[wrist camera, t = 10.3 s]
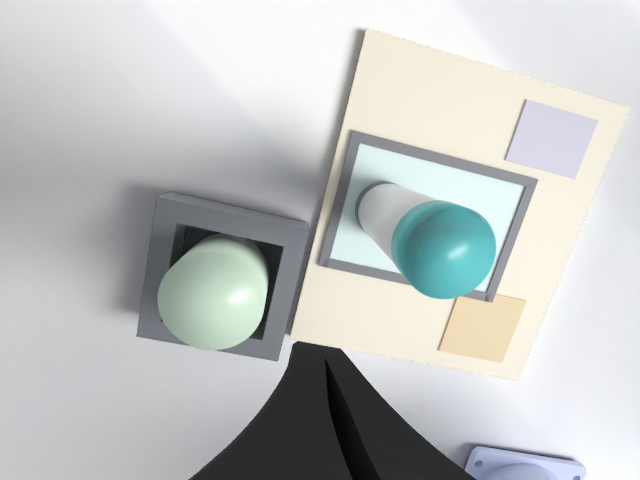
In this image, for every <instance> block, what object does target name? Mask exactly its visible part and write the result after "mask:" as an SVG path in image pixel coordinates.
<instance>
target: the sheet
mask: <svg viewBox="0 0 640 480" xmlns="http://www.w3.org/2000/svg"><path fill="white" fill-rule="evenodd" d="M629 111H630V108H629V107H626V106H623V105H619V104H616V103H613V102H609V101H606V100H603V99H600V98H596V97H593V96H590V95H586V94H583V93H580V92H576V91H573V90H570V89H567V88H563V87H560V86H557V85H553V84H550V83H547V82H544V81H540V80H537V79H534V78H530V77H527V76H524V75H520V74H517V73H514V72H511V71H507V70H504V69H501V68H497V67H494V66H491V65H487V64H484V63H481V62H478V61H474V60H471V59H468V58H464V57H461V56H458V55H455V54H451V53H448V52H445V51H441V50H438V49H435V48H431V47H428V46H425V45H422V44H418V43H415V42H412V41H408V40H405V39H402V38H398V37H395V36H392V35H389V34H385V33H382V32H379V31H375V30H372V29H369V28H367V29H366V31H365V34H364V38H363V42H362V46H361V50H360V54H359V58H358V62H357V66H356V70H355V74H354V79H353V83H352V87H351V91H350V95H349V99H348V103H347V107H346V111H345V115H344V119H343V123H342V127H341V131H340V135H339V139H338V143H337V147H336V151H335V155H334V159H333V163H332V167H331V171H330V175H329V179H328V183H327V187H326V191H325V195H324V200H323V204H322V208H321V212H320V216H319V220H318V224H317V228H316V232H315V236H314V240H313V244H312V248H311V252H310V256H309V260H308V264H307V268H306V272H305V276H304V280H303V284H302V288H301V292H300V296H299V300H298V304H297V308H296V312H295V316H294V320H293V325H292V329H291V333H290V339H294V340H299V341H304V342H310V343H315V344H321V345H326V346H331V347H337V348H342V349H348V350H353V351H358V352H364V353H369V354H375V355H380V356H385V357H391V358H396V359H402V360H407V361H412V362H418V363H423V364H429V365H434V366H439V367H445V368H450V369H455V370H461V371H466V372H472V373H477V374H482V375H488V376H493V377H499V378H504V379H509V380H515V381H518V380H519V377H520V375H521V373H522V370H523V368H524V365H525V363H526V360H527V358H528V356H529V353H530V351H531V348H532V346H533V343H534V341H535V339H536V336H537V334H538V331H539V329H540V327H541V324H542V322H543V319H544V317H545V314H546V312H547V310H548V307H549V305H550V302H551V300H552V297H553V295H554V293H555V290H556V288H557V285H558V283H559V280H560V278H561V276H562V273H563V271H564V268H565V266H566V263H567V261H568V259H569V256H570V254H571V251H572V249H573V246H574V244H575V242H576V239H577V237H578V234H579V232H580V230H581V227H582V225H583V222H584V220H585V217H586V215H587V213H588V210H589V208H590V205H591V203H592V200H593V198H594V196H595V193H596V191H597V188H598V186H599V183H600V181H601V179H602V176H603V174H604V171H605V169H606V166H607V164H608V162H609V159H610V157H611V154H612V152H613V149H614V147H615V145H616V142H617V140H618V137H619V135H620V133H621V130H622V128H623V125H624V123H625V120H626V118H627V116H628V113H629ZM382 181H385V182H391V183H394V184H397V185H399V186H401V187H404V188H407V189H410V190H413V191H416V192H419V193H421V194H424V195H427V196H430V197H433V198H436V199H438V200H443V201H448V202H452V203H455V204H458V205H460V206H463V207H466V208H469V209H472V210H474V211H476V212H478V213H479V214H481V215H482V216H483V217H484V218H485V219H486V220H487V221H488V223H489V224H490V226H491V227H492V229H493V232H494V235H495V238H496V256H495V260H494V264H493V266H492V268H491V270H490V272H489V274H488V275H487V277H486V278H485V279H484V281H483V282H482V283H481V284H480V285H479V286H477V287H476V288H475V289H474V290H472V291H471V292H469V293H467V294H465V295H463V296H460V297H457V298H453V299H435V298H431V297H428V296H426V295H424V294H422V293H420V292H419V291H417V290H416V289H415V288H414V287H413V286H412V285H411V284H410V283H409V282H408V280H407V279H406V278H405V277H404V276H403V275H402V274H401V273H400V271H399V270H398V269H397V267H396V265H395V264H394V263H393V262H392V260H391V259H390V258H389V257H388V256H387V255H386V254H385V253H384V252H383V251H382V249H381V248H380V247H379V246H378V245H377V244H376V243H375V242H374V241H373V240H372V238H371V237H370V236H369V235H368V234H367V233H366V232H365V231H364V230H363V229H362V228H361V227H360V225H359V224H358V222H357V220H356V216H355V205H356V201H357V199H358V197H359V195H360V193H361V192H362V191H363V190H364V189H365V188H366V187H368V186H369V185H371V184H373V183H376V182H382Z"/></svg>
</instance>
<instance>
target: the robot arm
mask: <svg viewBox="0 0 640 480" xmlns="http://www.w3.org/2000/svg"><path fill="white" fill-rule="evenodd" d="M477 461H478V462H477ZM585 474H586V468H585V467H584V466H583V465H582V463H580V462H576V461H569V460H563V459H557V458H550V457H544V456H538V455H531V454H525V453H519V452H512V451H506V450H500V449H493V448H487V447H476V448H474V449H473V450H472V452H471V454H470V457H469V459H468V462H467V464H466V467H465V469H464V470H463V469H462V468H460V467H459V466H458V465H456V464H455V463H454V462H452V461H451V460H450V459H448V458H447V457H446V456H445V455H443V454H442V453H441V452H440V451H438V450H437V449H436V448H435V447H434V446H433V445H431V444H430V443H429V442H428V441H427V440H426V439H424V438H423V437H422V436H421V435H420V434H419V433H418V432H416V431H415V430H414V429H413V428H412V427H411V426H410V425H409V424H408V423H407V422H406V421H405V420H404V419H403V418H402V417H401V416H400V415H399V414H398V413H397V412H396V411H395V410H394V409H393V408H392V407H391V406H390V405H389V404H388V403H387V402H386V401H385V400H384V399H383V398H382V397H381V395H380V394H379V393H378V392H377V391H376V390H375V389H374V388H373V386H372V385H371V384H370V383H369V382H368V381H367V379H366V378H365V377H364V376H363V375H362V374H361V372H360V371H359V370H358V369H357V367H356V366H355V365H354V364H353V363H352V361H351V360H350V359H349V358H348V357H347V355H346V354H345V353H344V352H343V351H342V350H341V349H339V348H334V347H328V346H322V345H317V344H311V343H305V342H300V341H297V342H296V343H294V344H293V346H292V350H291V354H290V358H289V363H288V367H287V369H286V371H285V373H284V375H283V377H282V379H281V381H280V382H279V384H278V385H277V387H276V389H275V390H274V392H273V393H272V395H271V396H270V398H269V399H268V401H267V402H266V403H265V405H264V406H263V408H262V409H261V410H260V411H259V413H258V414H257V415H256V416H255V417H254V419H253V420H252V421H251V422H250V423H249V425H248V426H247V427H246V428H245V429H244V430H243V431H242V432H241V433H240V434H239V435H238V436H237V437H236V438H235V439H234V440H233V441H232V442H231V443H230V444H229V445H228V446H227V447H226V448H225V449H224V450H223V451H222V452H221V453H220V454H218V455H217V456H216V457H215V458H214V459H213V460H212V461H210V462H209V463H208V464H207V465H206V466H205V467H203V468H202V469H201V470H200V471H199V472H198V473H196V474H195V475H194V476H193V477H191V478H190V479H189V480H583V478H584V476H585Z"/></svg>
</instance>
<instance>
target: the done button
mask: <svg viewBox="0 0 640 480" xmlns="http://www.w3.org/2000/svg"><path fill="white" fill-rule="evenodd" d="M269 274H270V273H269V267H268V263H267V261H266V258H265V257H264V255H263V253H262V252H261V251H260V249H259V248H258V247H257V246H256V245H255V244H253V243H252V242H251V241H249V240H247V239H245V238H243V237H238V236H234V235H229V234H215V235H211V236H208V237H206V238H204V239H202V240H200V241H199V242H198V243H196V244H195V245H194V246H193V247H192V248H191V249H190V250H189V251H188V252H187V253H186V254H185V255H184V256H183V257H182V258H181V259H180V260H178V261H177V262H176V263H175V264H174V265H173V266H172V267H171V268H170V269H169V270H168V272H167V273H166V274H165V276H164V277H163V279H162V281H161V284H160V286H159V290H158V298H157V300H158V309H159V313H160V316H161V318H162V320H163V322H164V324H165V325H166V327H167V328H168V330H169V331H170V332H171V333H172V334H173V335H174V336H176V337H177V338H178V339H179V340H181V341H182V342H184V343H186V344H188V345H190V346H193V347H196V348H200V349H205V350H221V349H226V348H230V347H233V346H236V345H238V344H239V343H241V342H243V341H244V340H246V339H247V338H248V337H249V336H250V335H252V333H253V332H254V331H255V330H256V328H257V327H258V325H259V323H260V321H261V319H262V316H263V312H264V307H265V301H266V296H267V290H268V285H269Z"/></svg>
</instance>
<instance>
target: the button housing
mask: <svg viewBox="0 0 640 480" xmlns="http://www.w3.org/2000/svg"><path fill="white" fill-rule="evenodd" d="M187 225H188V226H193V227H197V228H202V229H206V230H211V231H216V232H220V233H225V234H229V235H234V236H238V237H243V238H248V239H252V240H257V241H261V242H266V243H271V244H275V245H280V246H283V248H282V252H281V256H280V261H279V265H278V269H277V274H276V278H275V283H274V287H273V291H272V296H271V300H270V304H269V309H268V313H267V317H266V322H261V321H260V323H259V325H258V327H257V328H256V330H255V331H254V332H253V333H252V335H250V336H249V337H248V338H247V339H246V340H244V341H243V342H241V343H239V344H238V345H236V346H233V347H230V348H226V349H221V350H216V351H222V352H227V353H233V354H239V355H244V356H250V357H256V358H261V359H267V360H273V361H278V358H279V354H280V350H281V346H282V342H283V338H284V334H285V330H286V326H287V322H288V318H289V313H290V309H291V305H292V301H293V297H294V293H295V289H296V285H297V281H298V277H299V273H300V268H301V264H302V260H303V256H304V252H305V248H306V244H307V240H308V236H309V232H310V230H309V225H308V223H307V222H303V221H298V220H294V219H290V218H285V217H281V216H276V215H272V214H268V213H263V212H259V211H254V210H250V209H246V208H241V207H237V206H232V205H228V204H224V203H219V202H215V201H211V200H206V199H202V198H197V197H193V196H189V195H184V194H180V193H175V192H169V193H166V194H163V195H160V196H157V198H156V205H155V212H154V219H153V226H152V233H151V240H150V246H149V253H148V260H147V267H146V274H145V281H144V288H143V294H142V301H141V308H140V315H139V322H138V329H137V337H142V338H148V339H154V340H159V341H165V342H171V343H176V344H182V345H188V344H186V343H184V342H182V341H181V340H179V339H178V338H177V337H176V336H174V335H173V334H172V333H171V332H170V331H169V330H168V328H167V327H166V325H165V324H164V322H163V320H162V318H161V316H160V313H159V309H158V300H157V298H158V290H159V286H160V284H161V281H162V279H163V277H164V276H165V274H166V273H167V272H168V270H169V269H170V268H171V267H172V266H173V265H174V264H175V263H176V262H177V261H178V260H180V259H181V257H182V251H183V245H184V239H185V233H186V227H187ZM188 346H190V345H188Z"/></svg>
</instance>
